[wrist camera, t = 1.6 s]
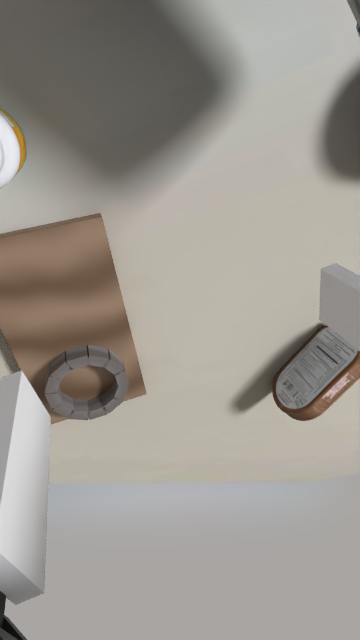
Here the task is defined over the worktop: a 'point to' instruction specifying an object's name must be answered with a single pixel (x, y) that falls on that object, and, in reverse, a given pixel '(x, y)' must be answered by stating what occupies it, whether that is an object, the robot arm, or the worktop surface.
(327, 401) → the tin
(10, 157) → the supplement bottle
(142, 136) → the worktop surface
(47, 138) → the worktop surface
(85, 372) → the board
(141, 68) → the worktop surface
